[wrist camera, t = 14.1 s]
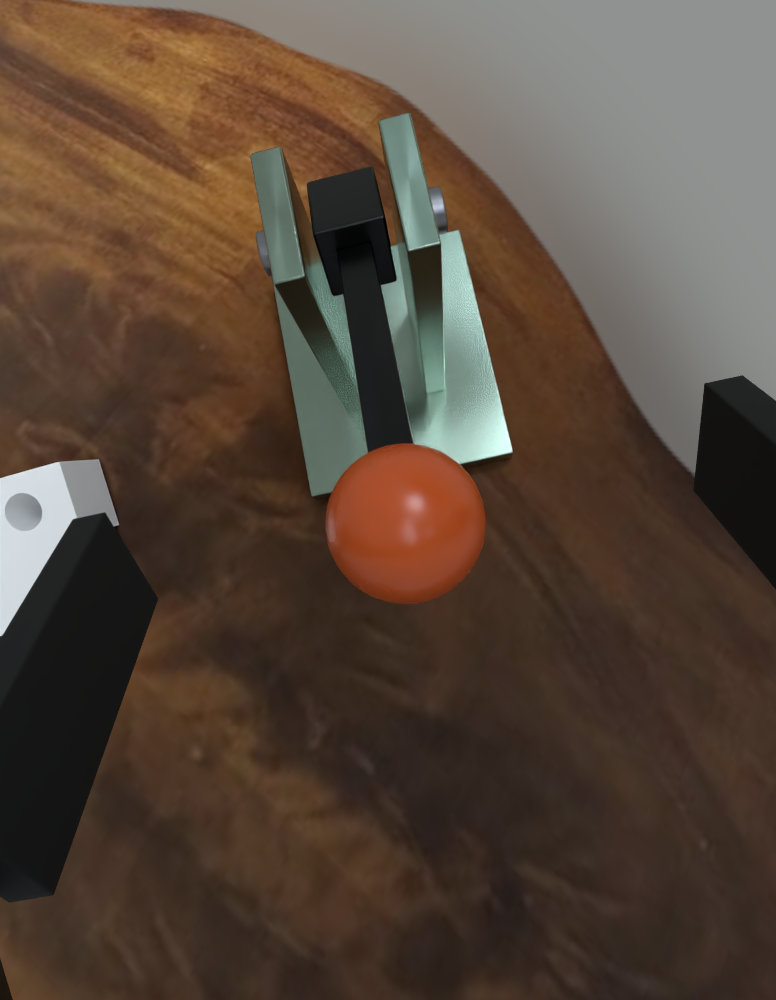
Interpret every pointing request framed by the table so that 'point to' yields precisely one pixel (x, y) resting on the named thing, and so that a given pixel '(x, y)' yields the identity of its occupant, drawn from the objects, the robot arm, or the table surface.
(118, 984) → the table surface
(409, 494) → the clamp lever
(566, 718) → the table surface
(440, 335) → the clamp
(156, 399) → the table surface
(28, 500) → the bracket
